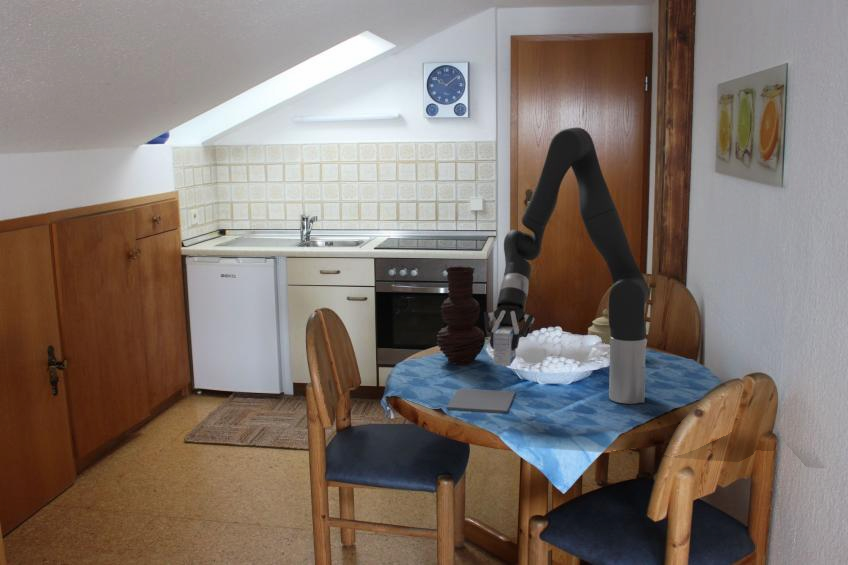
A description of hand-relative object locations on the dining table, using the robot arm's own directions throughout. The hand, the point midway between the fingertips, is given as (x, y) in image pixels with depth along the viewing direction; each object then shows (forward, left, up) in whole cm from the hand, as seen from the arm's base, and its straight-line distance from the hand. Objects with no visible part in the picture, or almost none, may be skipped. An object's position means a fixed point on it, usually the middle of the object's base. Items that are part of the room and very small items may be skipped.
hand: (503, 348), depth 212 cm
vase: (+19, -41, -16) cm, 48 cm away
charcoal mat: (+6, -4, -16) cm, 18 cm away
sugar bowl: (-27, -58, -16) cm, 66 cm away
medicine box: (0, -2, -4) cm, 5 cm away
